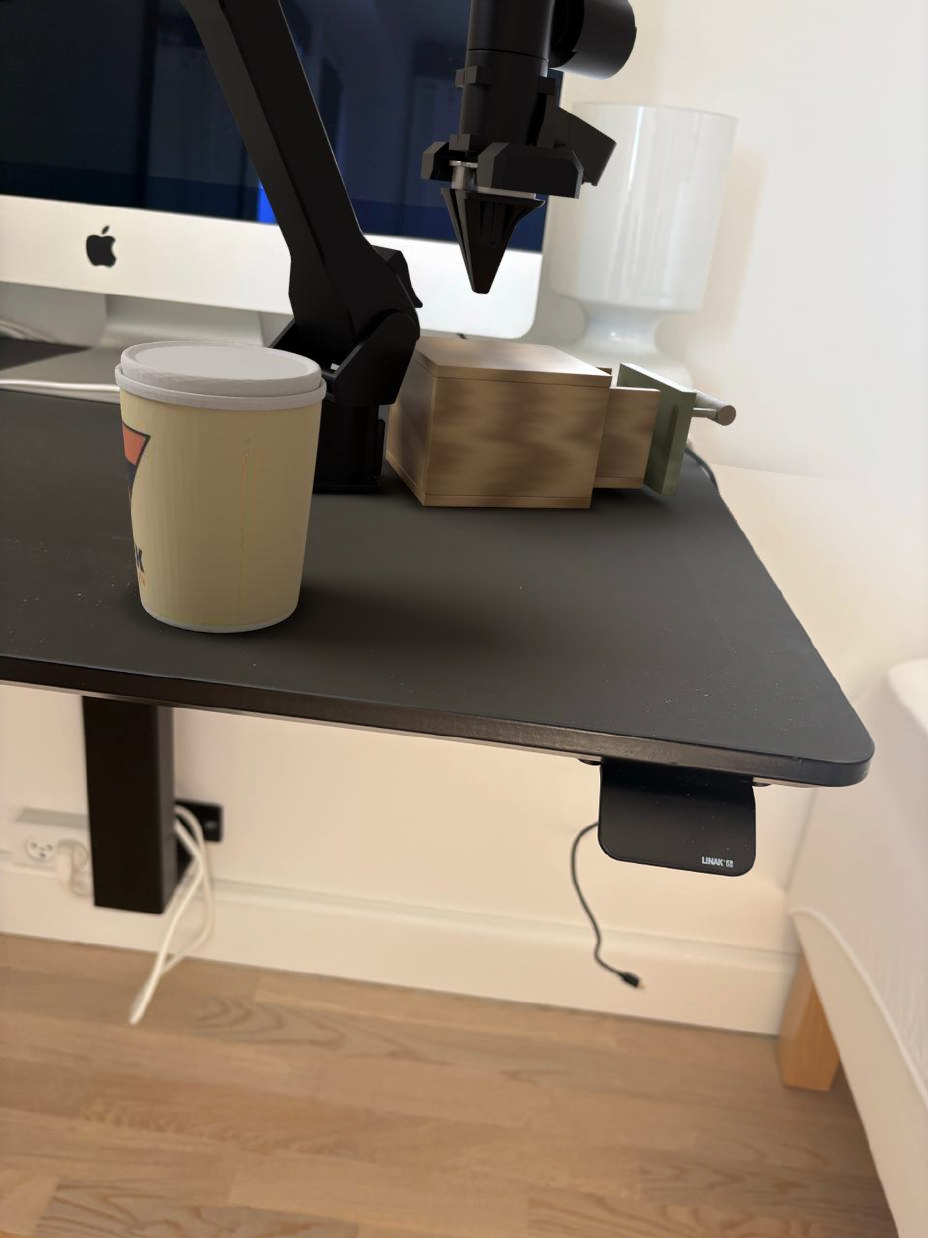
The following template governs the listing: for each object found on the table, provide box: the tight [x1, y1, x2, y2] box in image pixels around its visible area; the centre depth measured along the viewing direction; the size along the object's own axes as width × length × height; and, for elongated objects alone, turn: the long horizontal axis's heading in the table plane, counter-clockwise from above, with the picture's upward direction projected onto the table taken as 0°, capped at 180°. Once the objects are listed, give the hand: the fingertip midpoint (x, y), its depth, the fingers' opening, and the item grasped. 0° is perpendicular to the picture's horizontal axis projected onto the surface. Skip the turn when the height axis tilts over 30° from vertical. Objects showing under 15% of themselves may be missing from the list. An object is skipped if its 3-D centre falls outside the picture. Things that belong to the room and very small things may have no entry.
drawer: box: [590, 362, 737, 497], centre depth 75 cm, size 16×10×8 cm, turn 107°
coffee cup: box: [114, 340, 326, 634], centre depth 46 cm, size 9×9×12 cm
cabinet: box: [385, 335, 613, 509], centre depth 71 cm, size 13×12×10 cm
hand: (480, 293), depth 73 cm, fingers closed
